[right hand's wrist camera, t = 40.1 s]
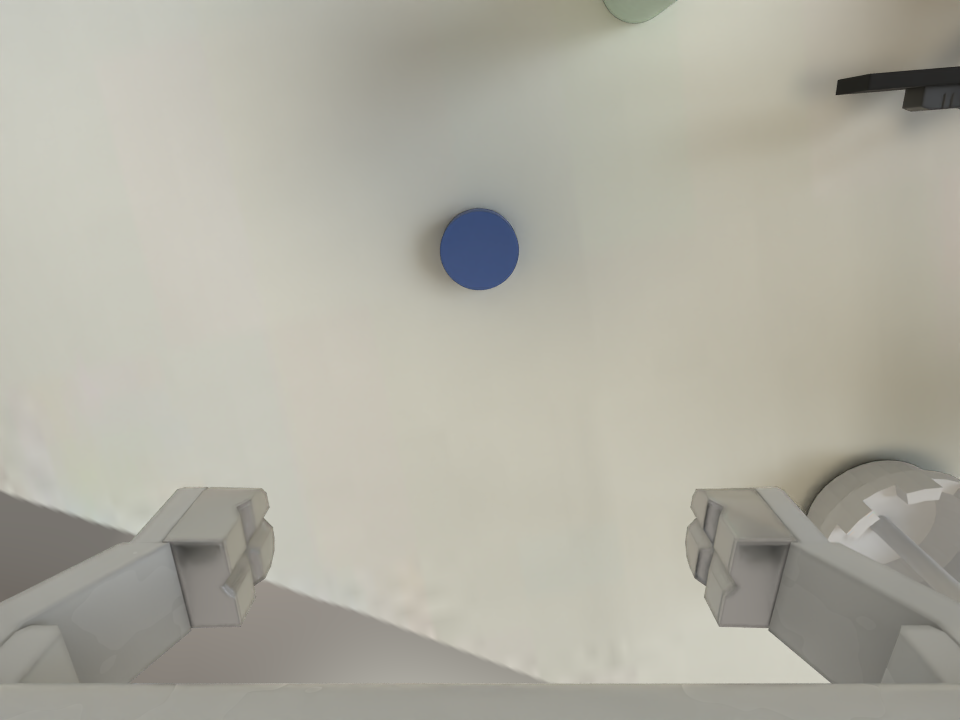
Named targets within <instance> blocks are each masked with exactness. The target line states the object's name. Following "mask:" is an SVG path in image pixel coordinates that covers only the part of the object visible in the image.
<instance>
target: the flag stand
mask: <svg viewBox="0 0 960 720" xmlns="http://www.w3.org/2000/svg"><path fill="white" fill-rule="evenodd" d="M807 517H808V518H809V519H810V521H811V522H812V523H813V524H814V525H815V526H816V527H817V528H818V529H819V531H820V532H821V533H822V534H823V535H824V536H825V537H826V538H827V540H828V541H829V542H835V543H841V544H843V545H845V546H847V547H849V548H851V549H853V550H855V551H857V552H859V553H861V554H863V555H865V556H867V557H869V558H871V559H873V560H875V561H877V562H879V563H881V564H883V565H885V566H887V567H889V568H891V569H893V570H895V571H897V572H899V573H901V574H903V575H905V576H907V577H909V578H911V579H913V580H915V581H917V582H919V583H921V584H923V585H925V586H927V587H929V588H931V589H933V590H935V591H937V592H939V593H941V594H943V595H945V596H947V597H949V598H951V599H953V600H955V601H957V602H959V603H960V480H959V479H957V478H955V477H953V476H951V475H949V474H945V473H941V472H937V471H929V470H922V469H920V468H919V467H917V466H915V465H913V464H910V463H906V462H902V461H892V460H885V461H874V462H870V463H867V464H863V465H860V466H857V467H855V468H852V469H850V470H848V471H846V472H844V473H843V474H841V475H839V476H838V477H836V478H835V479H834V480H832V481H831V482H830V483H829V484H828V485H826V486H825V487H824V488H823V490H822V491H821V492H820V493H819V494H818V495H817V497H816V498H815V500H814V502H813V503H812V505H811V507H810V509H809V512H808V515H807Z"/></svg>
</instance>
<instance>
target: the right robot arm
mask: <svg viewBox="0 0 960 720" xmlns="http://www.w3.org/2000/svg"><path fill="white" fill-rule="evenodd" d="M268 509H269V503H268V498H267V493H266V492H265V491H264V490H263V489H262V488H225V487H210V488H208V487H184V488H180V489H177V490H176V491H175V493H174V494H173V495H172V496H171V497H170V498H169V499H168V500H167V502H166V503H165V504H164V505H163V506H162V507H161V508H160V509H159V510H158V512H157V513H156V514H155V515H154V516H153V517H152V518H151V519H150V521H149V522H148V523H147V524H146V525H145V526H144V527H143V528H142V529H141V531H140V532H139V533H138V534H137V535H136V536H135V537H134V538H133V540H132V541H131V542H125V543H119V544H117V545H115V546H113V547H111V548H109V549H107V550H105V551H103V552H101V553H99V554H97V555H95V556H93V557H91V558H89V559H87V560H85V561H83V562H81V563H79V564H77V565H75V566H73V567H71V568H69V569H67V570H65V571H63V572H61V573H59V574H57V575H55V576H53V577H51V578H49V579H47V580H45V581H43V582H41V583H39V584H37V585H35V586H33V587H31V588H29V589H27V590H25V591H23V592H21V593H19V594H17V595H15V596H13V597H11V598H9V599H7V600H5V601H3V602H1V603H0V720H960V603H959V602H957V601H955V600H953V599H951V598H949V597H947V596H945V595H943V594H941V593H939V592H937V591H935V590H933V589H931V588H929V587H927V586H925V585H923V584H921V583H919V582H917V581H915V580H913V579H911V578H909V577H907V576H905V575H903V574H901V573H899V572H897V571H895V570H893V569H891V568H889V567H887V566H885V565H883V564H881V563H879V562H877V561H875V560H873V559H871V558H869V557H867V556H865V555H863V554H861V553H859V552H857V551H855V550H853V549H851V548H849V547H847V546H845V545H843V544H841V543H835V542H829V541H828V540H827V538H826V537H825V536H824V535H823V534H822V533H821V532H820V531H819V529H818V528H817V527H816V526H815V525H814V524H813V523H812V522H811V521H810V519H809V518H808V517H807V516H806V515H805V514H804V513H803V512H802V510H801V509H800V508H799V507H798V506H797V505H796V504H795V503H794V502H793V500H792V499H791V498H790V497H789V496H788V495H787V494H786V493H785V491H784V490H782V489H780V488H778V487H753V488H727V489H696V490H695V492H694V494H693V497H692V502H691V509H692V511H693V513H694V514H695V516H696V519H695V520H694V521H693V522H692V523H691V524H690V525H689V526H688V527H687V533H686V541H685V544H686V555H687V560H688V563H689V567H690V569H691V571H692V573H693V575H694V578H695V579H697V580H698V581H699V582H701V583H702V584H704V585H705V586H706V589H705V595H704V598H705V600H706V602H707V604H708V606H709V608H710V610H711V611H712V613H713V615H714V617H715V619H716V621H717V623H718V625H719V627H750V628H769V631H770V632H771V633H772V634H773V635H775V636H776V637H777V638H778V639H779V640H781V641H782V642H783V643H784V644H785V645H786V646H788V647H789V648H790V649H791V650H792V651H794V652H795V653H796V654H797V655H798V656H800V657H801V658H802V659H803V660H804V661H806V662H807V663H808V664H809V665H810V666H811V667H813V668H814V669H815V670H816V671H817V672H819V673H820V674H821V675H822V676H823V677H825V678H826V679H827V680H828V681H829V682H831V683H832V684H487V683H486V684H484V683H479V684H478V683H305V684H303V683H298V684H297V683H292V684H291V683H289V684H287V683H285V684H283V683H282V684H281V683H280V684H279V683H276V684H157V683H130V682H131V681H132V680H133V679H134V678H136V677H137V676H138V675H139V674H140V673H142V672H143V671H144V670H145V669H146V668H148V667H149V666H150V665H151V664H152V663H153V662H155V661H156V660H157V659H158V658H159V657H161V656H162V655H163V654H164V653H165V652H167V651H168V650H169V649H170V648H171V647H173V646H174V645H175V644H176V643H177V642H179V641H180V640H181V639H182V638H183V637H185V636H186V635H187V634H188V633H189V632H190V631H191V628H208V627H241V625H242V623H243V621H244V619H245V617H246V615H247V614H248V611H249V610H250V608H251V605H252V604H253V602H254V599H255V598H256V595H255V589H254V586H255V585H256V584H258V583H259V582H261V581H262V580H263V579H265V578H266V575H267V573H268V571H269V569H270V567H271V563H272V559H273V554H274V532H273V527H272V526H271V525H270V524H269V523H268V522H267V521H266V520H265V519H264V516H265V514H266V513H267V511H268Z"/></svg>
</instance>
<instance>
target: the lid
mask: <svg viewBox="0 0 960 720" xmlns="http://www.w3.org/2000/svg"><path fill="white" fill-rule="evenodd" d="M518 255H519V247H518V241H517V238H516V235H515V233H514V230H513V228H512V226H511V225H510V224H509V222H508V221H507V220H506V219H505V218H504V217H503V216H501V215H500V214H498V213H497V212H494V211H492V210H488V209H483V208H476V209H470V210H467V211H465V212H462V213H461V214H459V215H457V216H456V217H455V218H454V219H453V220H452V221H451V222H450V223H449V225H448V226H447V228H446V230H445V232H444V235H443V237H442V240H441V245H440V256H441V261H442V264H443V267H444V269H445V270H446V272H447V274H448V275H449V276H450V277H451V278H452V279H453V280H454V281H455V282H456V283H458V284H459V285H461V286H463V287H466V288H469V289H473V290H486V289H490V288H493V287H496V286H498V285H499V284H501V283H502V282H504V281H505V280H506V279H507V278H508V277H509V276H510V275H511V273H512V272H513V270H514V268H515V266H516V264H517V260H518Z"/></svg>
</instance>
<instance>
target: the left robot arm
mask: <svg viewBox="0 0 960 720" xmlns="http://www.w3.org/2000/svg"><path fill="white" fill-rule="evenodd" d="M904 89H906V91H905V97H904V102H903V107H902V108H903V109H906V110H908V111H923V110H936V109H948V108H958V109H960V66H959V67H947V68H935V69H923V70H911V71H899V72H886V73H874V74H867V75H862V76H856V77H851V78H846V79H840V80H838V82H837V89H836V95H843V94H855V93H867V92H880V91H892V90H904Z"/></svg>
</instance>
